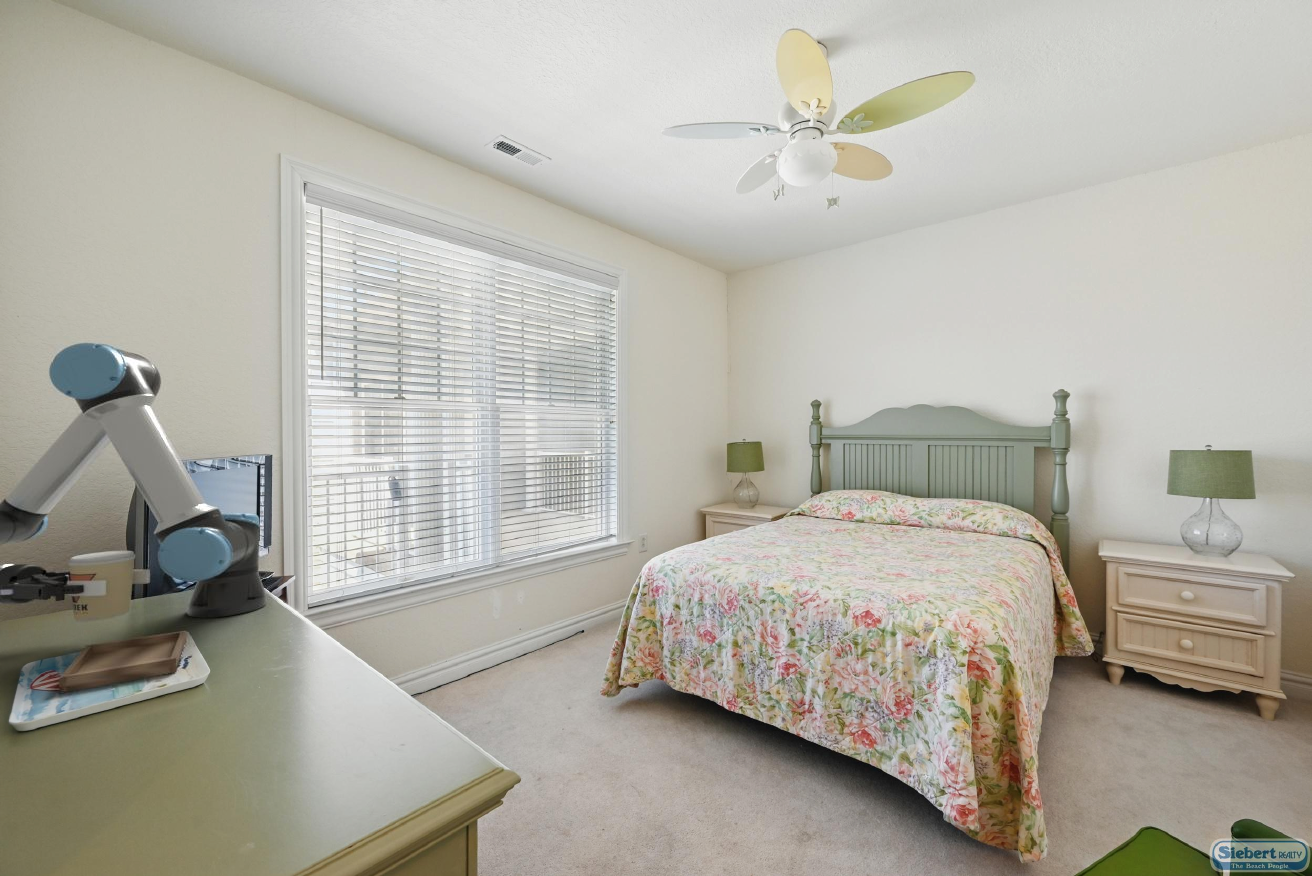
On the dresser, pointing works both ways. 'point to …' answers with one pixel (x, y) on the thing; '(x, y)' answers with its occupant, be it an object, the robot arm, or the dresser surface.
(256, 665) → the dresser surface
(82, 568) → the coffee cup
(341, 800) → the dresser surface
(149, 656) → the walnut tray
